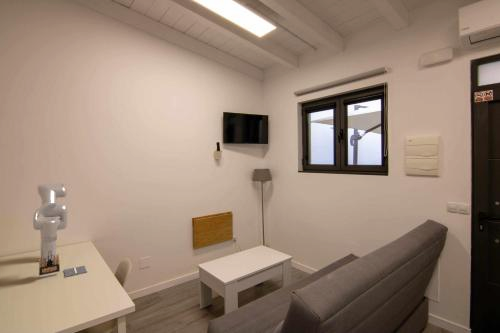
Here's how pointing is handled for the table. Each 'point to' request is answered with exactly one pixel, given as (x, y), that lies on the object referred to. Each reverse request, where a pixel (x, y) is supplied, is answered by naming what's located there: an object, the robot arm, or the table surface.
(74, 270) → the mat
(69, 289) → the table surface
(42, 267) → the ammunition clip
